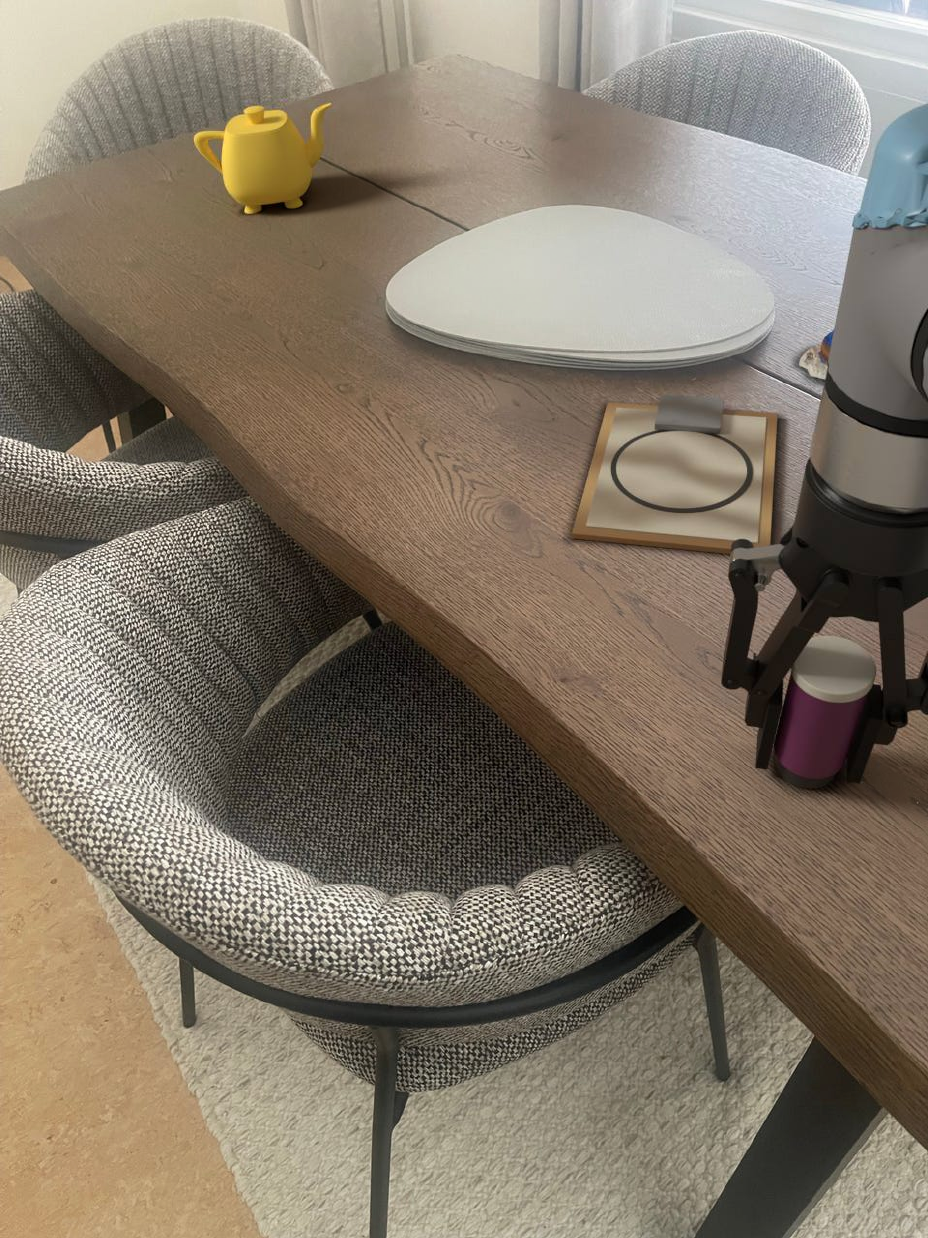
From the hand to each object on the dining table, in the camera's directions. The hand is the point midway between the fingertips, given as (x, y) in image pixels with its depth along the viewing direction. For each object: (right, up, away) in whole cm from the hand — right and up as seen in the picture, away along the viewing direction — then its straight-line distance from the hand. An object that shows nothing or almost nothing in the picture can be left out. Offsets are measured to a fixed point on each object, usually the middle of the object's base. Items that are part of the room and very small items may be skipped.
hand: (807, 758), depth 61 cm
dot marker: (0, -1, +1) cm, 1 cm away
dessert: (+16, +34, +33) cm, 50 cm away
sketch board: (-3, +22, +23) cm, 32 cm away
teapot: (-50, +71, +78) cm, 116 cm away
